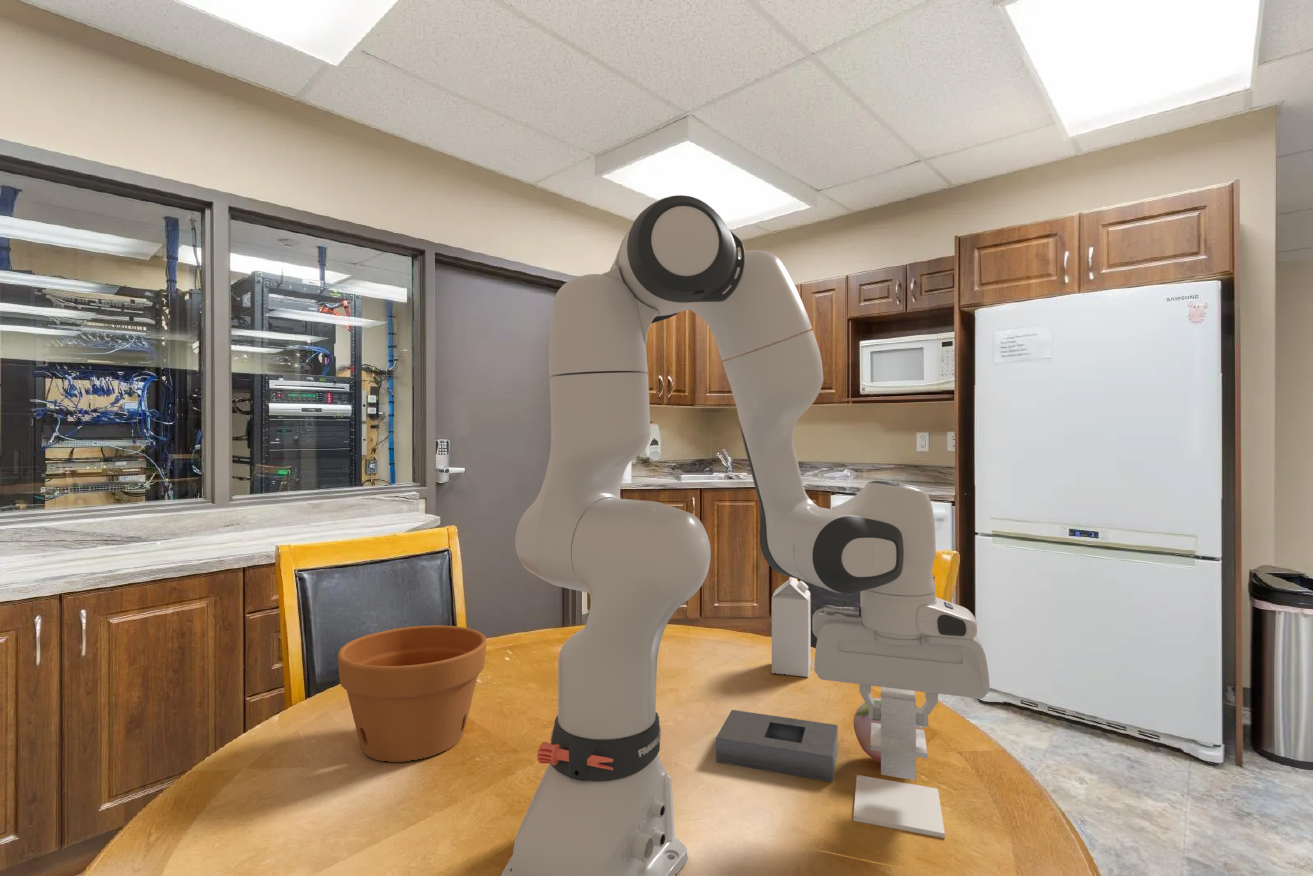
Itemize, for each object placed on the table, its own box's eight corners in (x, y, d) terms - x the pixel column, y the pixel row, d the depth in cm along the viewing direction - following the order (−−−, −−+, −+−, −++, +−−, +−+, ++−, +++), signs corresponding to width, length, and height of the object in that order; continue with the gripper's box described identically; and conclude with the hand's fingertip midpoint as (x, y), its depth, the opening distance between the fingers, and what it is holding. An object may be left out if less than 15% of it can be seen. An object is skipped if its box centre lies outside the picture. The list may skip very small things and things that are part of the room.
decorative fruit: (891, 745, 95) (890, 678, 95) (933, 771, 87) (932, 698, 87) (839, 756, 91) (839, 687, 91) (878, 784, 84) (877, 709, 84)
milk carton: (771, 674, 124) (771, 577, 124) (775, 662, 131) (775, 570, 131) (808, 678, 122) (808, 579, 122) (810, 665, 129) (810, 572, 129)
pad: (944, 838, 72) (944, 833, 72) (853, 821, 76) (853, 816, 76) (937, 793, 82) (937, 788, 82) (856, 779, 85) (856, 775, 85)
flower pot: (425, 701, 111) (426, 617, 111) (514, 729, 100) (515, 635, 100) (306, 751, 93) (307, 650, 93) (399, 792, 82) (400, 677, 82)
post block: (832, 782, 84) (832, 756, 84) (715, 762, 90) (716, 737, 90) (837, 748, 94) (837, 725, 94) (732, 732, 99) (731, 709, 99)
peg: (924, 761, 81) (924, 687, 81) (927, 787, 75) (927, 707, 75) (871, 753, 83) (871, 680, 83) (870, 777, 77) (870, 699, 77)
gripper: (809, 610, 79) (809, 720, 79) (991, 625, 72) (992, 746, 72) (814, 598, 85) (815, 700, 85) (983, 611, 78) (984, 723, 78)
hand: (898, 722), depth 79 cm, fingers closed on peg, 4 cm apart
